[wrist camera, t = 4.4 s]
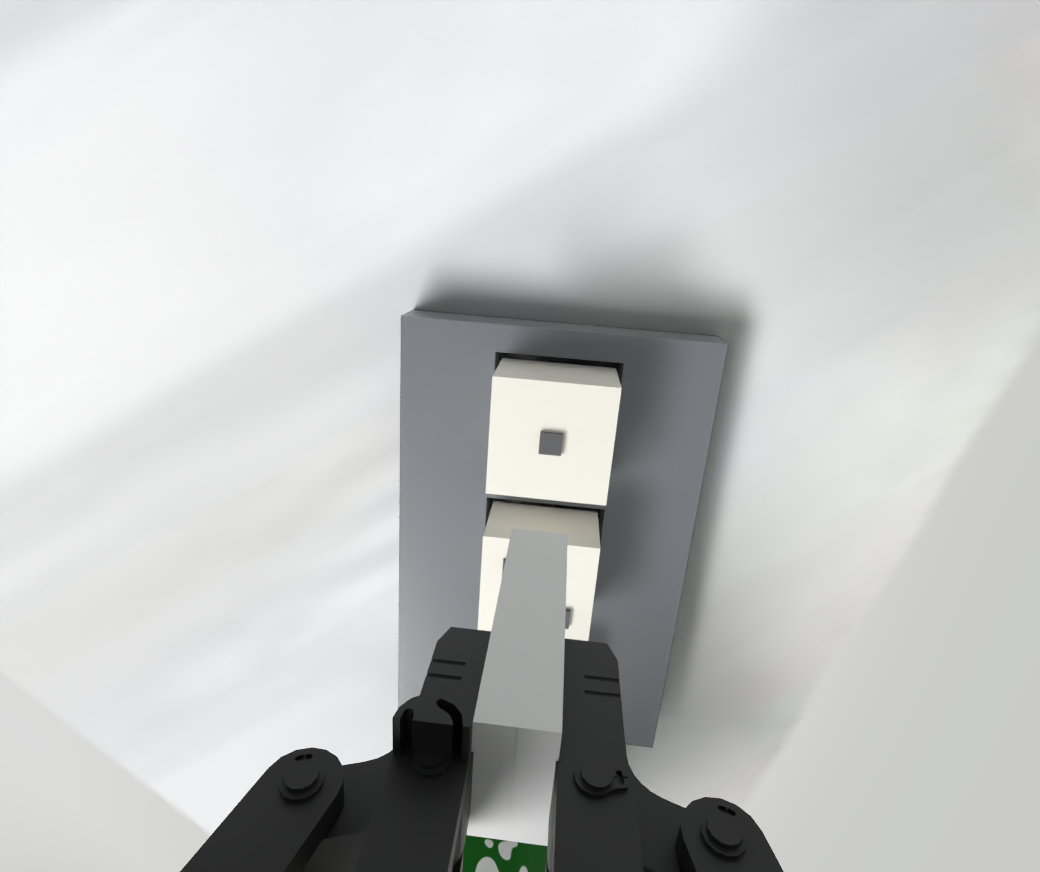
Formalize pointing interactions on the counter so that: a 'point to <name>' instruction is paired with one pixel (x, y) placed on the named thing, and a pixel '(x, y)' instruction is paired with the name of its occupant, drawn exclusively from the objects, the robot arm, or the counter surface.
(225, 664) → the counter surface
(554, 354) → the keypad board
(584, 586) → the key two
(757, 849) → the robot arm
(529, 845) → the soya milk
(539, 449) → the key one
